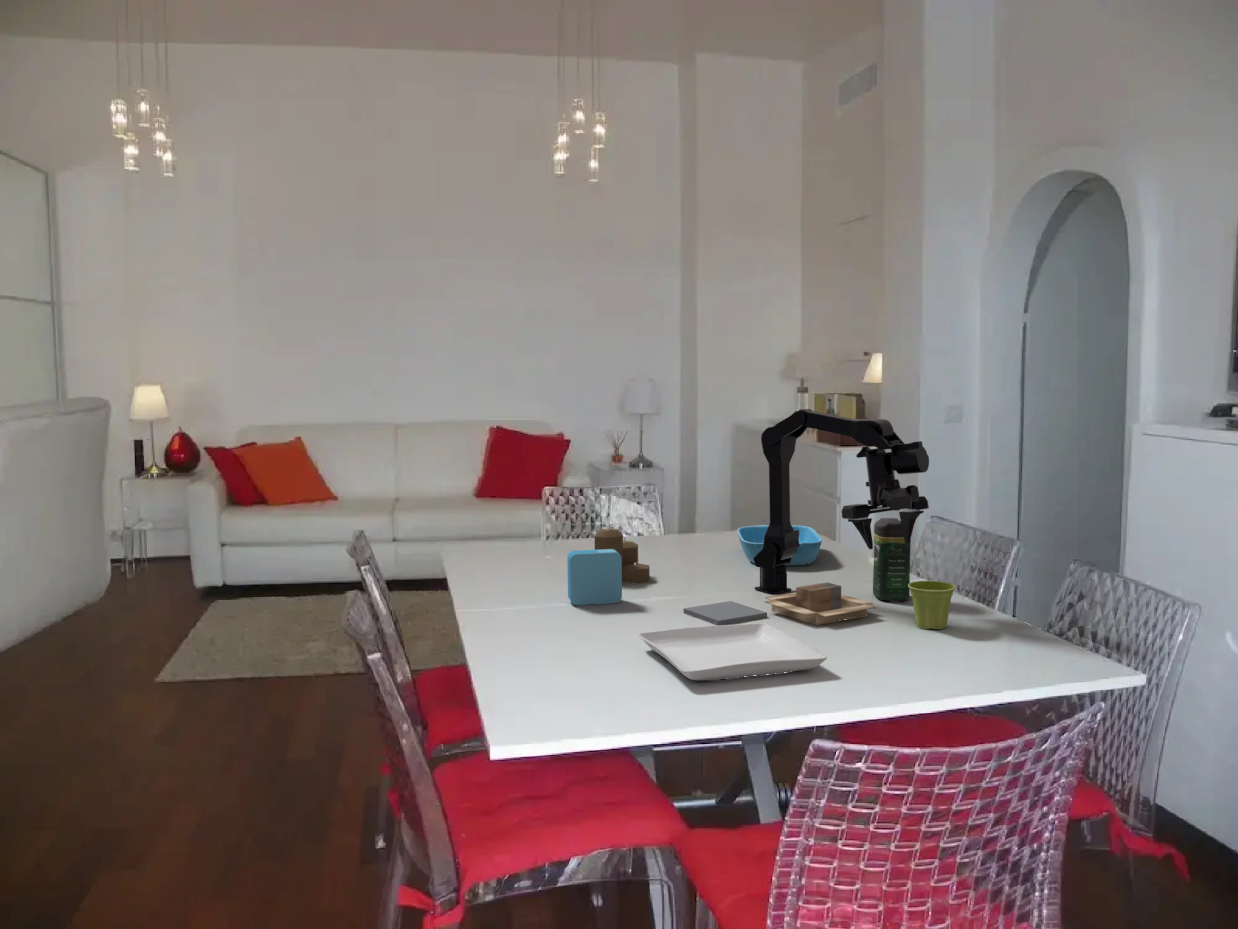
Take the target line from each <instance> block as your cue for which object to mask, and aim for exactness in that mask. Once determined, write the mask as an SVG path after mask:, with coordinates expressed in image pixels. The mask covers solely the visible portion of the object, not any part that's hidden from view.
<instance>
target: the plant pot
mask: <svg viewBox="0 0 1238 929" xmlns="http://www.w3.org/2000/svg"><path fill="white" fill-rule="evenodd" d="M908 587H909V588H910V594H911V596H912V605H913V611H914V618H915V626H916V627H918V628H920V629H923V628H924V629H923V630H928V629H933V630H935V629H939V630H943V629H946V628H947V626H948V621H949V614H950V607H951V601H952V596H953V594H954V590H956V588H957V587H956V585H955V584H953V583H950V582H946V581H940V580H939V581H938V580H918V581H912V582H911V581H910V583H909V584H908Z"/></svg>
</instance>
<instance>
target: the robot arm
mask: <svg viewBox="0 0 1238 929" xmlns="http://www.w3.org/2000/svg"><path fill="white" fill-rule="evenodd" d="M808 429H814V430H818V431H823V432H828V433H833V434H837V435H842V436H846V437H848V438H850V439H852V440H853V441H855V442H857V443H859V444H861V445H864V446H862V447H861V449H860V450H859V452H858V453H857V454H856V458H859V459H860V458H865V459H866V469H867V470H866V471H867V477H868V478H867V479H868V480H867V481H866V482H865V486H866V487H868V490H869V497H870V499H868V500H867V503H854V504H848V505H843V506H842V509H841V518H842V519H843V520H844V519H845V520H847V522H851V523H852V525H854V527H855V529H856V530H857V531H858V533H859V534H860V536H861V538H862V540H863V542H864V543H865V544H866V546H867V548H868V550H874V540H873V534H872V530H871V523H872V520H873V518H871V517H869V516H870V515H871V514H877V513H883V512H892V511H896V512H897V511H898V514H899V520H900V521H901V525H902V531H903V536H904V540H905V543H906V544H909V543H910V539H911V540H912V535H913V530H914V527H915V523H916V522H917V519H918V518H919V516H920V515H921V514H924V512H925V511H924V510H927V509H929V508H930V506H929V500H928V499H927V498H926V496H924V495H920V492H919V487H918V486H917V485H915V484H911V485H907V486H906V487H902V486H901V483H900V481H899V479H898V478H896V476H895V472H896V473H897V474H898V475H909V474H911V475H912V474H923V473H927V471H928V469H929V467H930V458H929V457H930V456H929V455H928V453H927V450H926V448H925V447H924V446H923V441H921V440H919V441H913V442H907V443H904V441H903V440H902V439H901V438H900V437H899V436H898V434H897V433H896V432H895V431H894V428H893V425H892V423H891V422H890V421H889V420H887V419H883V418H862V419H861V418H856V419H855V418H850V417H847V416H840V415H836V414H830V413H826V412H820V411H815V410H812V409H810V408H804V409H803V408H802V409H801V408H800V409H796V410H795V411H794V412H793V413H792V414H790V415H789V416H788V417H786V418H784V419H782V420H781V421H779V422H777V423H776V424H775V425H774V426H769V427H767V428H765V430H764V431H763V432H762V433H761V436H760V437H761V438H760V440H761V446H762V447H761V448H762V454H763V455H764V457H765V459H766V461H767V464H768V484H769V485H768V490H769V491H768V492H769V493H768V494H769V495H768V496H769V502H768V503H769V504H768V505H769V507H768V508H769V524H768V525H769V526H768V529H767V531H766V533H765V536H764V543H763V549H762V550H761V551H760V552H759V553H758V554H757V555H756V556H755V557H754V558H753V560H754V563H755V564H754V563H753V564H754V566H755V567H757V568H759V586H755V587H754V590H757V591H760V592H763V593H766V594H771V595H772V594H779V593H785V592H791V591H792V588H791V587H788V573H787V565H785V564H790V563H791V560H792V557H793V556H794V555H795V554H796V553H797V549H798V547H800V544H799V530H793V528H792V526H791V525H792V524H791V500H790V498H791V495H790V494H791V493H790V492H791V491H790V485H791V484H790V482H791V480H790V464H791V460H792V458H793V455H794V454H795V452H796V451H795V450H796V444H797V440H798V439H799V438H800V437H801V436H803V435H804V433H805V432H807V430H808ZM871 447H874V448H871ZM887 450H890V451H887ZM900 510H902V511H900Z"/></svg>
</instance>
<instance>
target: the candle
mask: <svg viewBox="0 0 1238 929" xmlns="http://www.w3.org/2000/svg"><path fill="white" fill-rule="evenodd" d="M610 522H611V521H608V522H607V525H606V526H607V528H603V529H602V528H601V529H599V531H597V533H596V534H595V535H594V550H602V549H614V550H616V551H617V552H618V553H619V554H620V555H621V559H622V583H625V582H627V584H632V583H637V584H644V583H645V584H646V583H650V582H649V581H650V571H651V570H650V565H649V564H643V563H639V544H638V543H636V542H635V541H629V540H626V537H624V534H623V532H622V531H620V530H619V529H618V528H611V523H610Z"/></svg>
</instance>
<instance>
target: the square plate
mask: <svg viewBox="0 0 1238 929" xmlns="http://www.w3.org/2000/svg"><path fill="white" fill-rule="evenodd" d="M637 636H638V638H639V639H641V640H642V641H643V642H644V643H645V644H646V645H647V646H648V647H649V649H651V650H653V651H654V652H655V653H657V654H658V655H660V656H661V658H664V659H665V660H666V661H667V662H669V663H670V664H671V665H672V666H673V667H674V668H676V670H678V671H679V673H680V674H682V675H683V676H685V677H686V678H688V679H689V680H691V681H705V680H718V681H720V680H719V679H727V678H737V677H744V676H753V675H765V676H767V675H766V674H775V673H784V672H790V673H792V672H791V671H794V672H796V671H798V672H799V671H804V670H805V671H806V670H810V669H814V668H816V667H818V666H820V665H821V664H822V663H823V662H824V661H825V660H827V659H828V656H826V655H824V654H823V653H821V652H819V651H817V650H816V649H814V648H813V647H811V646H809V645H807V644H806V643H804V642H803V641H800V640H799V639H797V638H795V637H793V636H791V635H789V634H788V633H785V632H783V631H782V630H780V629H778V628H775V627H773V626H772V625H769V624H767V623H764V622H759V623H746V624H745V623H744V624H742V623H741V624H724V625H705V626H693V627H692V626H691V627H682V628H674V629H667V630H666V629H665V630H657V631H647V632H639V633H638V634H637ZM784 674H785V673H784ZM775 675H776V674H775ZM737 679H738V678H737ZM727 680H728V679H727Z"/></svg>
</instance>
